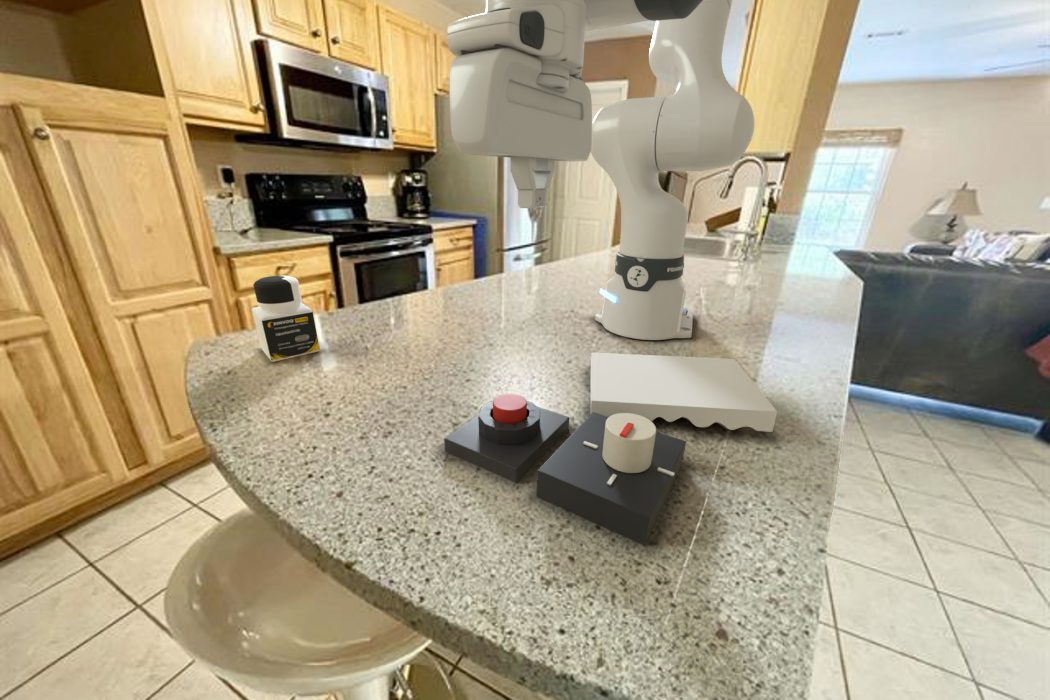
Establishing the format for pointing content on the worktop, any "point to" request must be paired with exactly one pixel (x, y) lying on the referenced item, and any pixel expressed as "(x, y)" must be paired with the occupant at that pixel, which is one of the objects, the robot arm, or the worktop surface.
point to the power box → (507, 440)
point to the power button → (509, 408)
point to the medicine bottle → (283, 319)
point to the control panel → (609, 481)
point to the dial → (628, 442)
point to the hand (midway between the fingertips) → (532, 207)
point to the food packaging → (679, 390)
